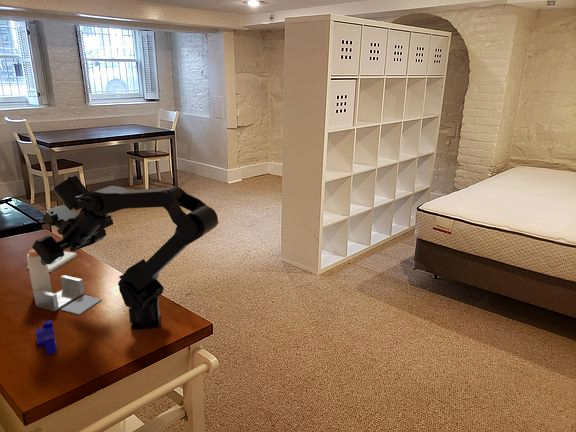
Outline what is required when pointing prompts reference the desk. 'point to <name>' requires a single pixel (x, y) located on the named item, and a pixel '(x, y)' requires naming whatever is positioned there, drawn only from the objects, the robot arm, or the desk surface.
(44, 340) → the cable holder
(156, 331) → the desk surface
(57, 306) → the bracket
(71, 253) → the external hard drive
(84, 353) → the desk surface
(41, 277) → the white upright post
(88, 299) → the pad
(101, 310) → the desk surface
